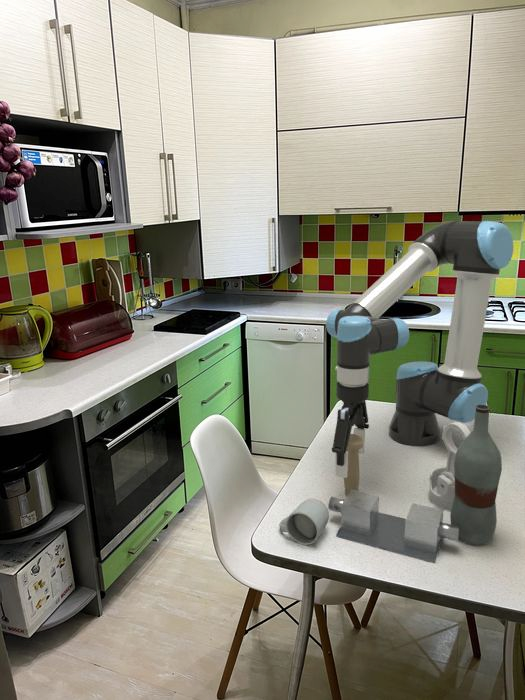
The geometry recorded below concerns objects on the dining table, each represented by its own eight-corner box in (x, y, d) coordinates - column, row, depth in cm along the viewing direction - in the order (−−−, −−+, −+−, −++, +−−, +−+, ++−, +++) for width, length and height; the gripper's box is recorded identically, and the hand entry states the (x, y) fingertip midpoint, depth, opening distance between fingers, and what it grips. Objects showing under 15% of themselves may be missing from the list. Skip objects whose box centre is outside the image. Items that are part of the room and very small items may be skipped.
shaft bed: (339, 505, 128) (339, 480, 126) (461, 534, 116) (463, 508, 114) (321, 532, 118) (321, 506, 116) (452, 568, 105) (455, 539, 104)
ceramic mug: (331, 528, 120) (330, 497, 118) (318, 549, 113) (317, 517, 111) (288, 518, 124) (287, 488, 122) (273, 537, 117) (271, 507, 115)
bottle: (448, 543, 113) (458, 412, 105) (449, 519, 121) (457, 396, 113) (496, 551, 110) (510, 417, 102) (493, 525, 118) (505, 400, 110)
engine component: (451, 485, 135) (420, 494, 131) (457, 411, 130) (424, 418, 126) (484, 506, 126) (451, 517, 122) (491, 427, 120) (457, 436, 116)
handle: (354, 485, 136) (355, 432, 132) (365, 499, 130) (366, 443, 126) (337, 488, 135) (337, 435, 131) (347, 502, 129) (347, 446, 125)
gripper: (353, 365, 137) (351, 440, 143) (318, 396, 116) (317, 483, 121) (382, 369, 134) (379, 446, 139) (351, 402, 112) (348, 491, 118)
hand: (350, 463), depth 130 cm, fingers open, 13 cm apart
